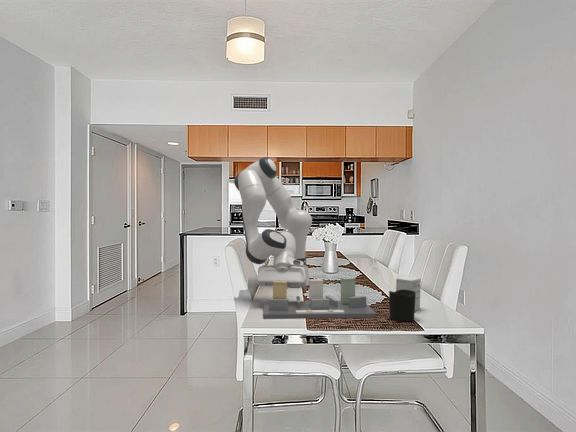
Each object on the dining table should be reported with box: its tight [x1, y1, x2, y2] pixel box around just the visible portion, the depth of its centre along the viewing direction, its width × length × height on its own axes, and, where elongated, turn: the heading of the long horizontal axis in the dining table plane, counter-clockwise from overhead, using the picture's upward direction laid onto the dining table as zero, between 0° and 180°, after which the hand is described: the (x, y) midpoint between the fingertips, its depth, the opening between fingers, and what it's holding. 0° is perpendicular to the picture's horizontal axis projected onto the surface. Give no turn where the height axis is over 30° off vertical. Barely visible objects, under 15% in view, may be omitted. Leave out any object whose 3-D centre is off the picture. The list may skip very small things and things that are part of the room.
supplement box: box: [395, 275, 422, 312], centre depth 175 cm, size 7×7×13 cm
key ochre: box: [272, 281, 288, 299], centre depth 170 cm, size 3×5×10 cm, turn 83°
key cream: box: [308, 278, 324, 305], centre depth 174 cm, size 3×5×10 cm, turn 99°
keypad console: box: [263, 295, 378, 320], centre depth 171 cm, size 21×42×6 cm, turn 93°
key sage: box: [340, 276, 357, 304], centre depth 178 cm, size 3×5×10 cm, turn 115°
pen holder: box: [388, 290, 416, 322], centre depth 160 cm, size 9×9×10 cm
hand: (279, 294), depth 172 cm, fingers closed
